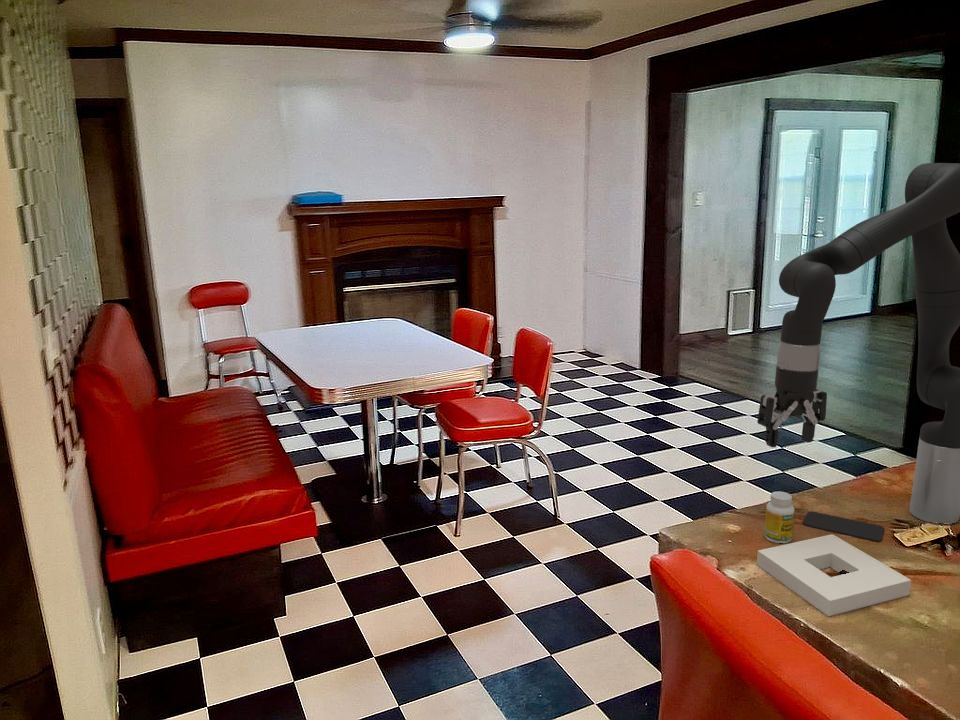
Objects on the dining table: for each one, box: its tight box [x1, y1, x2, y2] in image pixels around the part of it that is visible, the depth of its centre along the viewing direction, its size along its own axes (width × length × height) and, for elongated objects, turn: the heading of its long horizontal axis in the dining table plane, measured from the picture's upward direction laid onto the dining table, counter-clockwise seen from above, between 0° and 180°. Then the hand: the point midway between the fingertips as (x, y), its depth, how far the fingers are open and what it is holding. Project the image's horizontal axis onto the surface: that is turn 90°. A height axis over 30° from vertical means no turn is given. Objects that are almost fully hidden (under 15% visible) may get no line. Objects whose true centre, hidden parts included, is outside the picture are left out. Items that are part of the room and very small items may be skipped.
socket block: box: [756, 533, 912, 617], centre depth 133 cm, size 18×18×3 cm
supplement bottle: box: [763, 490, 795, 545], centre depth 148 cm, size 5×5×10 cm
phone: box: [802, 511, 885, 543], centre depth 153 cm, size 7×1×15 cm
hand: (789, 443), depth 143 cm, fingers open, 8 cm apart
